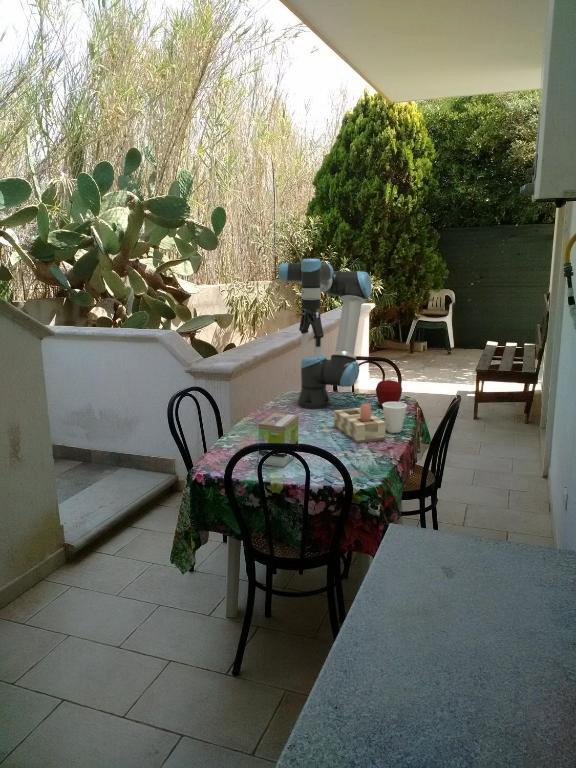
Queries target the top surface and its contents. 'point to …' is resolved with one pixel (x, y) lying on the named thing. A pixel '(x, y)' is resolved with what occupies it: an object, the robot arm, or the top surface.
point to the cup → (394, 416)
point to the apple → (388, 391)
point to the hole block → (359, 426)
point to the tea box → (278, 435)
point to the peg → (365, 413)
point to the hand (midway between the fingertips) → (310, 351)
